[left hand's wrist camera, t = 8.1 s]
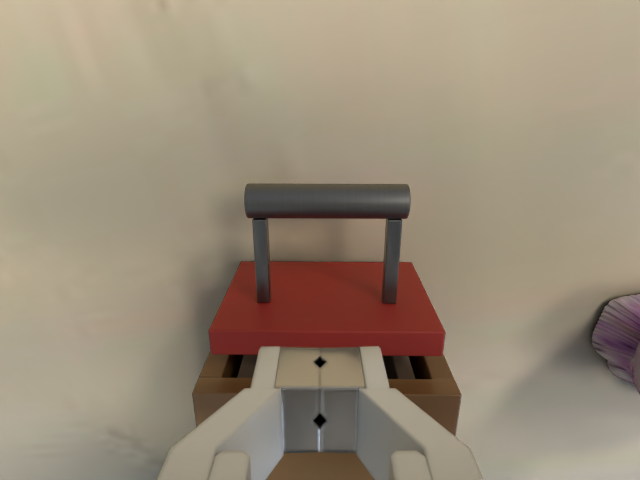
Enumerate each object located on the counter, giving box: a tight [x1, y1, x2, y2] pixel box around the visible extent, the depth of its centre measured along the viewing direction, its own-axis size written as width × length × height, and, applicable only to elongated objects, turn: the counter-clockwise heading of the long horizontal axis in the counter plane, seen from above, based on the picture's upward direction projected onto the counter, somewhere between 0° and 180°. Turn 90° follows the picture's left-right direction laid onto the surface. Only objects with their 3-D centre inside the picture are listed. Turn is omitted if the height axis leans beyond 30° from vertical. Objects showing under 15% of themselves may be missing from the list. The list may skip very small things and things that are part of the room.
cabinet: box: [192, 351, 461, 480], centre depth 24 cm, size 17×11×9 cm, turn 0°
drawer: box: [209, 184, 445, 379], centre depth 22 cm, size 21×10×7 cm, turn 0°
